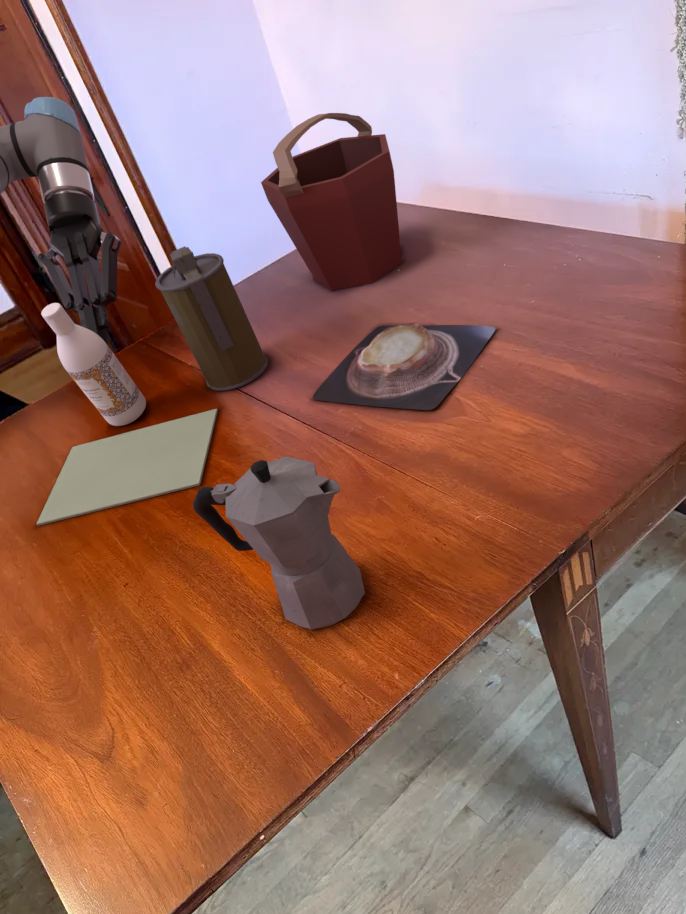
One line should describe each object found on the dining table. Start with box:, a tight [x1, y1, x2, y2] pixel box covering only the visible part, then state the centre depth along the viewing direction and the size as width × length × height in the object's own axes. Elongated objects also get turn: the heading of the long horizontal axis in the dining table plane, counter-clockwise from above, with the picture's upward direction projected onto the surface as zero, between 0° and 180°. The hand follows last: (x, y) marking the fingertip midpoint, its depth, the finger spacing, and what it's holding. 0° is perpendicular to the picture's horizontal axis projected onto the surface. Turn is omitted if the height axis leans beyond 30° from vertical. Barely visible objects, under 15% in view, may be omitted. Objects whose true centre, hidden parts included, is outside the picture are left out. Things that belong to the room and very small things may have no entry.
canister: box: [154, 246, 269, 392], centre depth 113 cm, size 11×10×20 cm
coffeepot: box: [192, 455, 366, 630], centre depth 72 cm, size 15×9×18 cm, turn 78°
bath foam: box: [40, 302, 147, 427], centre depth 110 cm, size 7×7×20 cm
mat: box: [36, 408, 219, 527], centre depth 107 cm, size 24×18×1 cm
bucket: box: [260, 112, 403, 291], centre depth 129 cm, size 24×22×25 cm
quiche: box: [312, 322, 496, 411], centre depth 106 cm, size 21×20×4 cm
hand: (100, 350), depth 114 cm, fingers closed
